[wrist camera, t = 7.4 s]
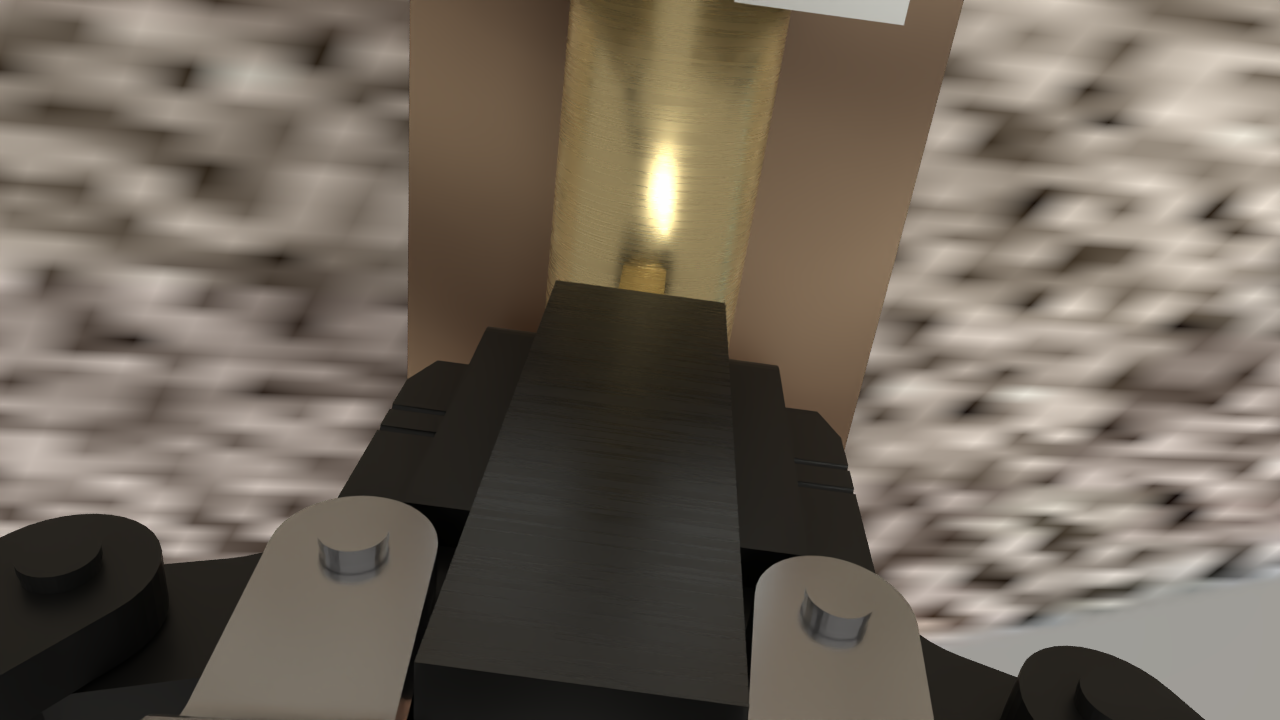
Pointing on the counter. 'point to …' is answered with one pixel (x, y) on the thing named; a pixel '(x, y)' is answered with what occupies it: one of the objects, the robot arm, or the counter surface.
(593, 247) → the gold and grey t-piece
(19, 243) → the counter surface
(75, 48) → the counter surface
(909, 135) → the sleeve stand
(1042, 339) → the counter surface
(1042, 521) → the counter surface
